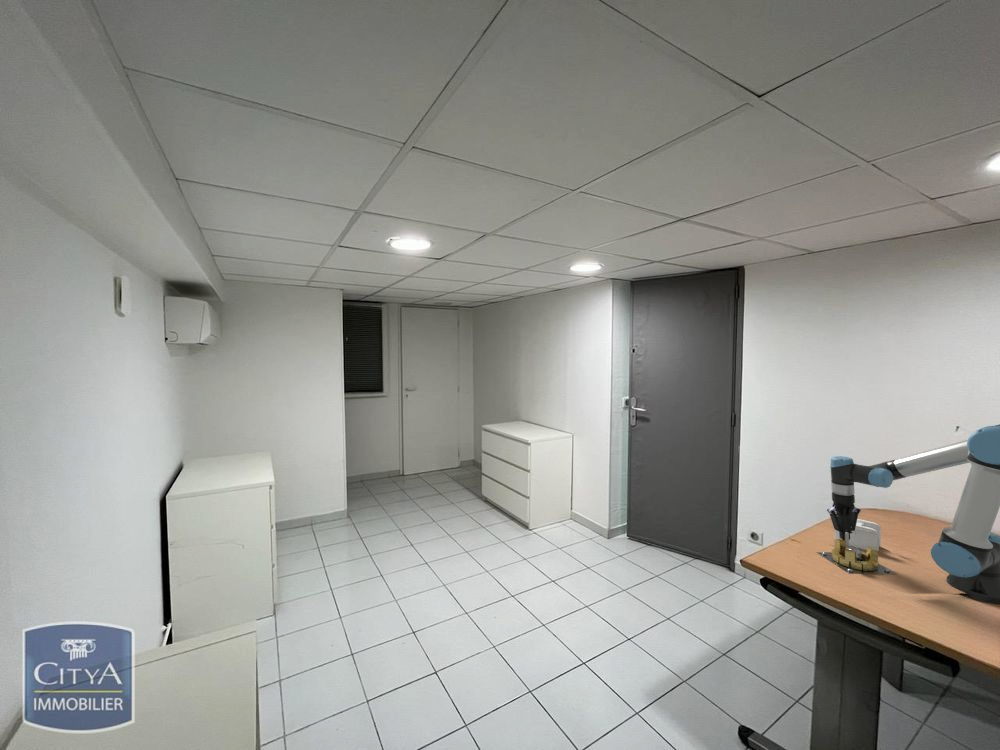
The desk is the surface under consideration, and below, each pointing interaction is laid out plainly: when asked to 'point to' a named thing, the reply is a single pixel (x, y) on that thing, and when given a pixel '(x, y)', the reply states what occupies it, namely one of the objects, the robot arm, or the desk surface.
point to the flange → (850, 570)
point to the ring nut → (854, 556)
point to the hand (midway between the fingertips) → (845, 546)
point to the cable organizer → (864, 535)
